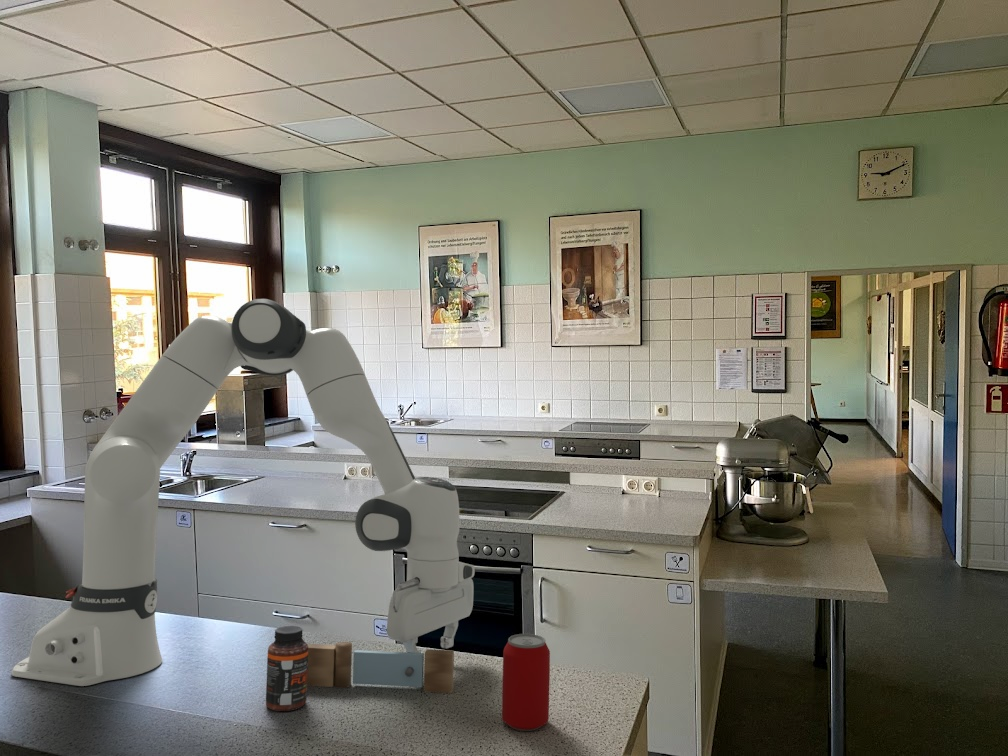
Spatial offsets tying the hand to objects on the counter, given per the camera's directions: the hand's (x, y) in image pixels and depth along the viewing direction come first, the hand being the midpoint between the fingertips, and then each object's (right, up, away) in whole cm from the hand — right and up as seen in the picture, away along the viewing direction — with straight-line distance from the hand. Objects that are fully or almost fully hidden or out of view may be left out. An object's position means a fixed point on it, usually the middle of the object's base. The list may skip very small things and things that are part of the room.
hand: (430, 654), depth 132 cm
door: (-6, -2, -9) cm, 11 cm away
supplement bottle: (-20, -2, -16) cm, 26 cm away
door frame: (-9, -2, -8) cm, 12 cm away
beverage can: (+16, -3, -21) cm, 26 cm away
